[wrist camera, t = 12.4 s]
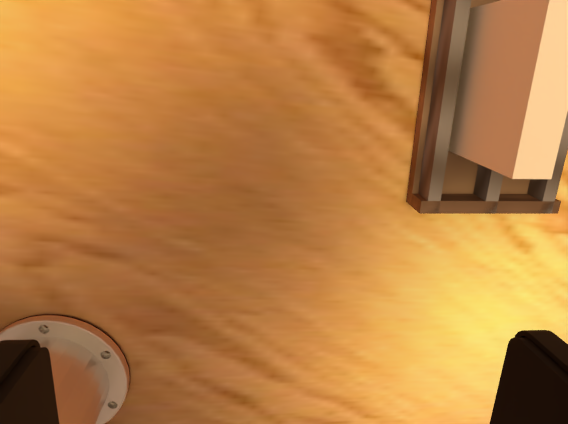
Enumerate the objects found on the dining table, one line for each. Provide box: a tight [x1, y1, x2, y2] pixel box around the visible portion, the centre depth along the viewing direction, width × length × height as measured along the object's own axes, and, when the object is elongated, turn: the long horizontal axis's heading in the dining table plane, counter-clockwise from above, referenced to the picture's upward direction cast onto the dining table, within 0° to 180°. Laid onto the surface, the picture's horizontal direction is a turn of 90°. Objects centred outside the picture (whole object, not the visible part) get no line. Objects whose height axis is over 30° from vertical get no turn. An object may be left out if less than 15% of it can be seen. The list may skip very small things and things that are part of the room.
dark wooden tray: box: [406, 0, 568, 213], centre depth 31 cm, size 19×11×3 cm, turn 179°
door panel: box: [448, 0, 568, 179], centre depth 27 cm, size 10×2×9 cm, turn 179°
